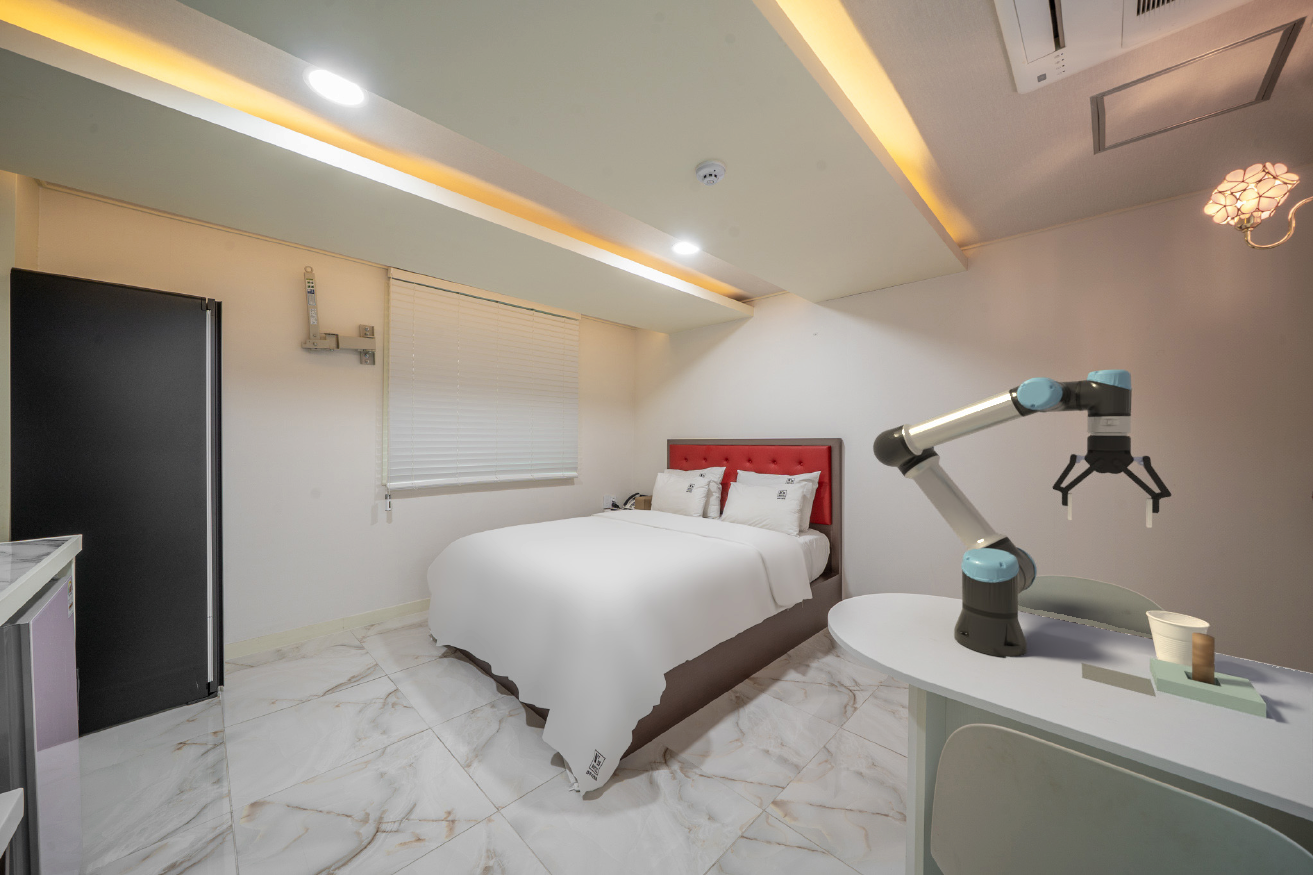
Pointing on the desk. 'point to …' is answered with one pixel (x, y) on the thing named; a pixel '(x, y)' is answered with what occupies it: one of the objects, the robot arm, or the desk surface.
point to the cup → (1174, 635)
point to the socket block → (1207, 688)
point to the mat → (1117, 679)
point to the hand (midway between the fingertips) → (1107, 523)
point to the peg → (1203, 658)
